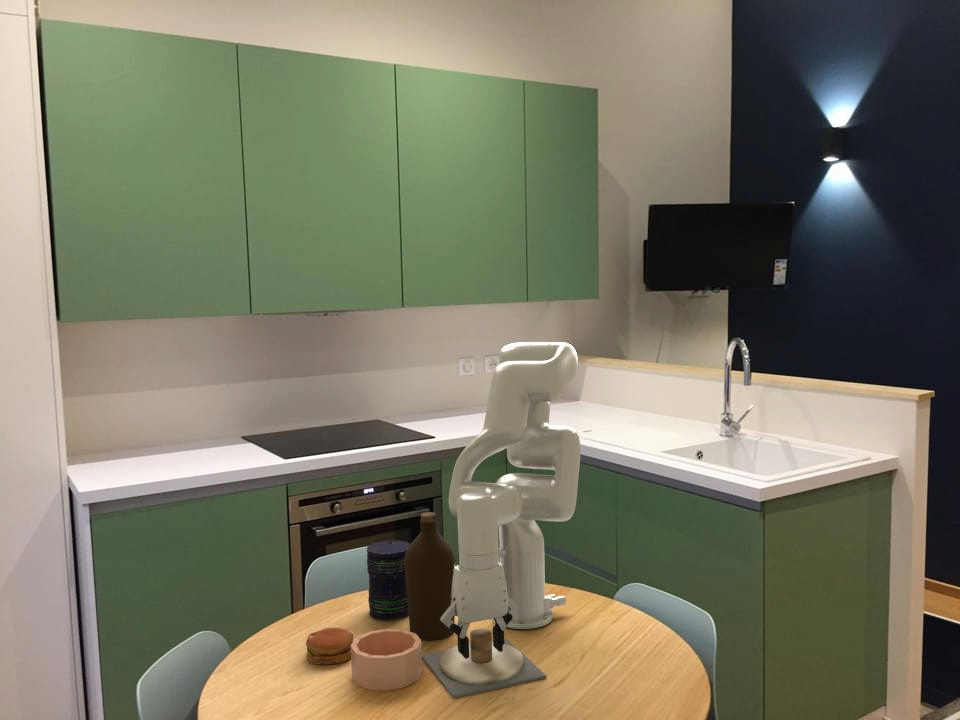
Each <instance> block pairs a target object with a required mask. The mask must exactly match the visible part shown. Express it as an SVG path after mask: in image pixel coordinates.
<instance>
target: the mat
mask: <svg viewBox="0 0 960 720" xmlns="http://www.w3.org/2000/svg"><path fill="white" fill-rule="evenodd" d="M492 642H493V640H492ZM504 644H507V645H510V646H512V647H514V648H516V649H517V650H519V649H518V647H516V646H515V645H514V644H513V643H512V642H511V641H510V640H509V639H507V638H504ZM447 650H448V649H445V650H440V651H436V652H431V653H426V654H422V661H424V663H425V664H426V665H427V667H428V668H429V669H430V670H431V672H432V673H433V674H434V675H435V677H436V678H437V679H438V681H439V682H440V684H442V686H443V687H444V688H445V690H447V692H448V694H449V695H450V696H451V697H452V698H453V699H457V698H462V697H467V696H470V695H474V694H479V693H485V692H489V691H494V690H498V689H499V690H500V689H503V688H506V687H511V686H516V685H521V684H526V683H531V682H535V681H539V680H544V679H547V675H546V674H545V673H544V672H543V671H542V670H541V669H540V668H539V667H537V666H536V665H535V664H534V662H532V660H531V659H529V658H528V657H527V656H526V655H525V654H524V653H523V652H521V654H522V656H523V668H522V670H521V671H520V673H519V674H517V675H516V676H514V677H513V678H510V679H508V680H505V681H502V682H498V683H492V684H467V683H461V682H458V681H455V680H452V679H450V678H448V677H447V676H445V675H444V674H443V673H442V671H441V668H440V659H441V656H442V655H443V653H444V652H446V651H447Z"/></svg>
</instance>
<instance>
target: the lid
mask: <svg viewBox="0 0 960 720" xmlns="http://www.w3.org/2000/svg"><path fill="white" fill-rule="evenodd" d="M469 635H470V639H469V658H467V659H465V658H464V657H463V656H462V655H461V653H459V651H458V644H457V645H455V646H453V647H450V648H449V649H446V650H447V651H446V652H444V653H443V655H442V656H441V659H440V668H441V671H442V673H443V674H444V675H445V676H447V677H448V678H450V679H452V680H455V681H458V682H461V683H467V684H492V683H498V682H502V681H505V680H508V679H510V678H513V677H514V676H516V675H517V674H519V673H520V671H521V670H522V668H523V656H522V654H523V653H522V652H521V651H520V649H518V648H517V647H516V648H517V649H518V650H517V649H516V648H514V647H512V646H510V645H507V644H504V645H503V651H502V652H499V651H498V650H497V649H496V648H495V647H494V646H493V642H492V641H493V631H491V630H490V629H487V628H475V629H473V630H471V631H470V633H469ZM521 653H522V654H521Z"/></svg>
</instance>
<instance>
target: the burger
mask: <svg viewBox="0 0 960 720" xmlns="http://www.w3.org/2000/svg"><path fill="white" fill-rule="evenodd" d="M353 642H354V634H353V633H352V632H351V631H350V630H348V629H345V628H341V627H326V628H322V629H321V630H317V631H315V632H311V633H309V635H308V636H307V639H306V640H305V644H306V649H307V652H306V657H305V658H306V660H307V661H308V662H309V663H311V664H313V665H322V664H324V665H334V664H342V663H345V662H347V661H350V660H351V644H352V643H353Z"/></svg>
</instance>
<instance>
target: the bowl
mask: <svg viewBox="0 0 960 720" xmlns="http://www.w3.org/2000/svg"><path fill="white" fill-rule="evenodd" d="M422 655H423V654H422V639H420V638H419V637H418V636H417V634H415V633H412V632H410V630H405V629H402V628H401V629H399V628H398V629H395V628H385V629H380V630H379V629H377V630H373V631H368V632H366V633H364V634H361V635H360V636H358V637H357V636H356V637H355V639H353V643H352V644H351V659H350V662H351V663H350V664H351V678H352V680H353V682H354V683H355V685H356V686H358V687H360V688H361V687H362V688H364V689H366V690H369V691H387V692H388V691H392V690H397V689H402V688H406V687H408V686H410V685H412V684H414V683H415V682H417V681H418V680H419V679H420V677H421V676H422V673H423V659H422Z"/></svg>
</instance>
